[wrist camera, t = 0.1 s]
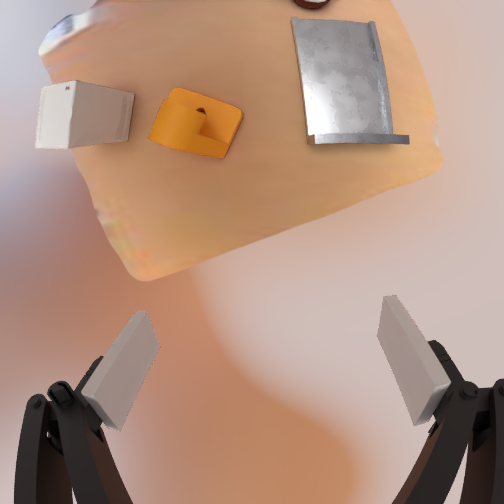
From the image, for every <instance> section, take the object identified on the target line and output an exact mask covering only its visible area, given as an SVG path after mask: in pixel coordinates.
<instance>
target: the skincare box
mask: <svg viewBox="0 0 504 504" xmlns="http://www.w3.org/2000/svg"><path fill="white" fill-rule="evenodd" d="M134 95H135V94H134V93H131V92H127V91H122V90H118V89H114V88H110V87H105V86H100V85H96V84H91V83H86V82H81V81H78V80H73V81H67V82H63V83H58V84H54V85H50V86H46V87H42V93H41V100H40V106H39V114H38V122H37V132H36V145H35V148H42V149H69V148H76V147H82V146H89V145H97V144H105V143H114V142H123V141H128V135H129V127H130V120H131V114H132V107H133V101H134Z"/></svg>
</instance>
